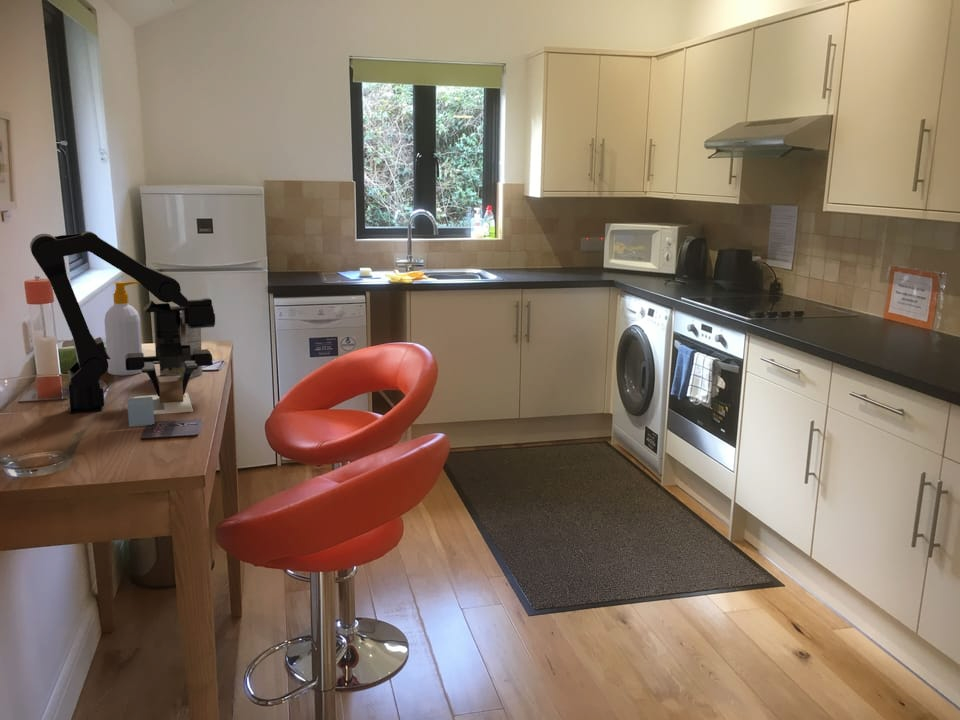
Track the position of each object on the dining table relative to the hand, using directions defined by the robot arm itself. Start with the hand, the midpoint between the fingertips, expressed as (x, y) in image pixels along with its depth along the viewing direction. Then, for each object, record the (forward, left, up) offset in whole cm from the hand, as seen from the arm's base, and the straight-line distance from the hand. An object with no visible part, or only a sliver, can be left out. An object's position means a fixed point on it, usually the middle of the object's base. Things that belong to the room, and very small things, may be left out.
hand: (171, 395), depth 192 cm
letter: (-2, -3, -1) cm, 4 cm away
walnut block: (0, 0, -1) cm, 1 cm away
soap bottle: (-9, +31, -1) cm, 32 cm away
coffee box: (+4, +24, -2) cm, 24 cm away
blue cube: (-7, -16, -1) cm, 18 cm away
